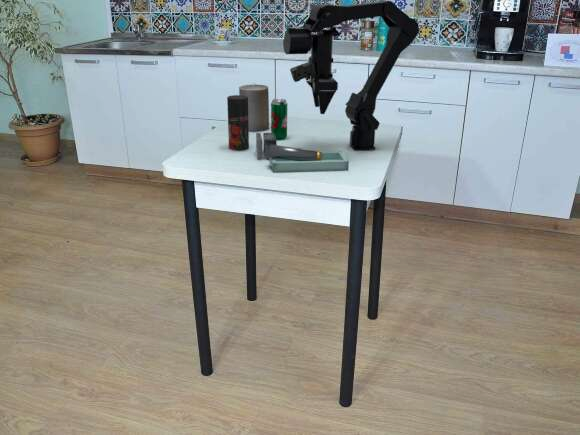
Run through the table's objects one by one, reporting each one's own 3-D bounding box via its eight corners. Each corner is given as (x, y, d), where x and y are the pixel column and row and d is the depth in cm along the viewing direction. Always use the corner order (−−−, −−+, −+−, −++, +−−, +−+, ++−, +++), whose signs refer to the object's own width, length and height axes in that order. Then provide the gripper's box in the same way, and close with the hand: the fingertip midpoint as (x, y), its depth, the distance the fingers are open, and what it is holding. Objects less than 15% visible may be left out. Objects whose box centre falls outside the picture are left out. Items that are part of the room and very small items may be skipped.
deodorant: (253, 148, 163) (252, 97, 157) (238, 152, 159) (236, 100, 153) (239, 144, 167) (238, 94, 161) (224, 147, 163) (222, 97, 157)
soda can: (285, 140, 171) (285, 102, 166) (269, 139, 172) (269, 101, 167) (288, 136, 175) (289, 98, 171) (273, 135, 176) (273, 97, 171)
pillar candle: (268, 124, 189) (268, 80, 183) (269, 131, 180) (268, 85, 174) (240, 125, 189) (238, 80, 183) (239, 132, 180) (238, 85, 174)
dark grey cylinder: (317, 161, 150) (320, 149, 148) (319, 166, 147) (322, 154, 145) (267, 154, 147) (269, 142, 146) (268, 159, 144) (270, 146, 143)
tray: (341, 159, 153) (341, 151, 152) (348, 170, 145) (348, 161, 144) (269, 161, 151) (269, 153, 150) (272, 172, 143) (272, 163, 142)
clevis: (273, 151, 160) (273, 132, 158) (276, 159, 153) (276, 140, 151) (256, 151, 160) (256, 132, 158) (258, 159, 153) (257, 140, 150)
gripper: (288, 49, 158) (287, 103, 164) (296, 58, 141) (295, 118, 147) (326, 49, 159) (324, 103, 165) (339, 58, 142) (336, 117, 148)
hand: (319, 110), depth 156 cm, fingers open, 9 cm apart
